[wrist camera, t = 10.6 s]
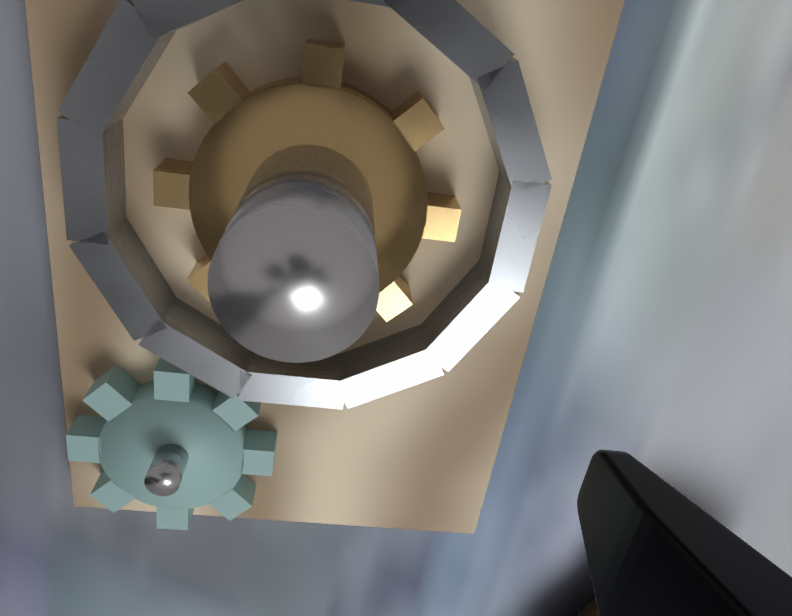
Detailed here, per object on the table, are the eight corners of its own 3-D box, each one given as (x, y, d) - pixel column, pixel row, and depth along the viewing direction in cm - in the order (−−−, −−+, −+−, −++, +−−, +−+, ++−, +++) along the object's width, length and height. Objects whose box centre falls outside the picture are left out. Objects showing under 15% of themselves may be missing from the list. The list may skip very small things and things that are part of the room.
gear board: (86, 481, 23) (46, 558, 20) (28, -216, 14) (-60, -266, 11) (469, 509, 25) (485, 584, 22) (633, -99, 16) (699, -115, 13)
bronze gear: (167, 304, 19) (93, 435, 13) (163, 16, 15) (62, 40, 10) (428, 331, 20) (455, 464, 14) (481, 64, 16) (542, 111, 11)
